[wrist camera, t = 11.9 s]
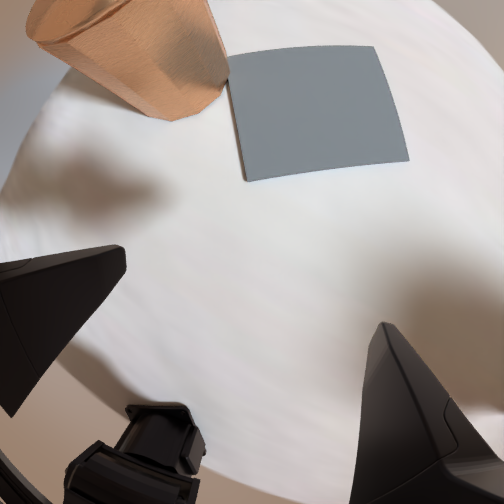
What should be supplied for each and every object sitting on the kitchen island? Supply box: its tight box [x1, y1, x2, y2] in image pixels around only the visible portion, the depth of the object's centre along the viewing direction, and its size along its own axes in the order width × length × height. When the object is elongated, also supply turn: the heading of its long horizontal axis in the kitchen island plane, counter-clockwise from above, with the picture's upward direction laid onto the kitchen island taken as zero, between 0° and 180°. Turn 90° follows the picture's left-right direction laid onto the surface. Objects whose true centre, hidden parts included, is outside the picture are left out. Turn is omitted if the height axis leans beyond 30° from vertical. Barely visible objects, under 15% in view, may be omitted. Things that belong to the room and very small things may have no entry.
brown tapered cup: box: [26, 0, 230, 121], centre depth 11 cm, size 8×8×13 cm
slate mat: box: [227, 46, 410, 182], centre depth 17 cm, size 12×10×1 cm
